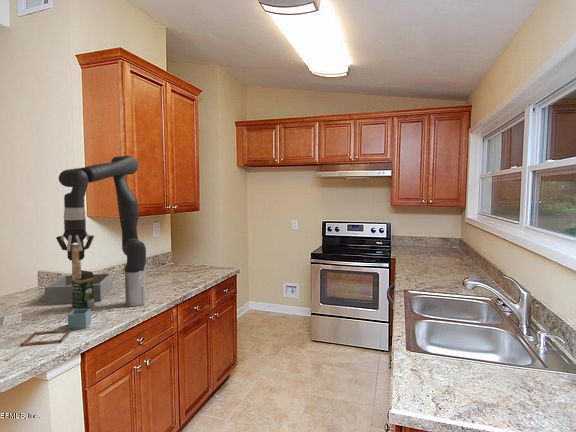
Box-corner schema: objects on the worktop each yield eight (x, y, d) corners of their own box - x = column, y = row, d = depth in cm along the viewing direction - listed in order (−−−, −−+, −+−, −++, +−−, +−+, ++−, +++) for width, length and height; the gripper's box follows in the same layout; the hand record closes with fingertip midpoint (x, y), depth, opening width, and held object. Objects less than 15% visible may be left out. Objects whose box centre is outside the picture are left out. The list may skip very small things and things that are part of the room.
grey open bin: (112, 288, 204) (112, 273, 203) (100, 301, 179) (100, 284, 178) (64, 290, 197) (64, 275, 197) (45, 304, 173) (44, 287, 172)
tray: (71, 332, 139) (71, 329, 139) (61, 344, 128) (61, 340, 128) (35, 335, 136) (34, 332, 136) (21, 348, 125) (20, 343, 125)
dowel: (82, 277, 144) (81, 244, 143) (79, 279, 141) (78, 245, 140) (73, 277, 143) (72, 244, 142) (71, 279, 140) (70, 245, 139)
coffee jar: (69, 308, 168) (67, 271, 167) (84, 303, 175) (83, 268, 174) (82, 311, 164) (81, 273, 163) (97, 306, 171) (96, 269, 170)
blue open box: (91, 324, 148) (90, 308, 148) (86, 330, 142) (85, 313, 141) (74, 325, 147) (73, 309, 146) (68, 331, 140) (67, 315, 140)
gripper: (96, 217, 146) (97, 257, 147) (59, 218, 142) (60, 258, 144) (91, 219, 139) (92, 261, 140) (51, 219, 135) (53, 262, 136)
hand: (76, 259), depth 142 cm, fingers closed on dowel, 3 cm apart
